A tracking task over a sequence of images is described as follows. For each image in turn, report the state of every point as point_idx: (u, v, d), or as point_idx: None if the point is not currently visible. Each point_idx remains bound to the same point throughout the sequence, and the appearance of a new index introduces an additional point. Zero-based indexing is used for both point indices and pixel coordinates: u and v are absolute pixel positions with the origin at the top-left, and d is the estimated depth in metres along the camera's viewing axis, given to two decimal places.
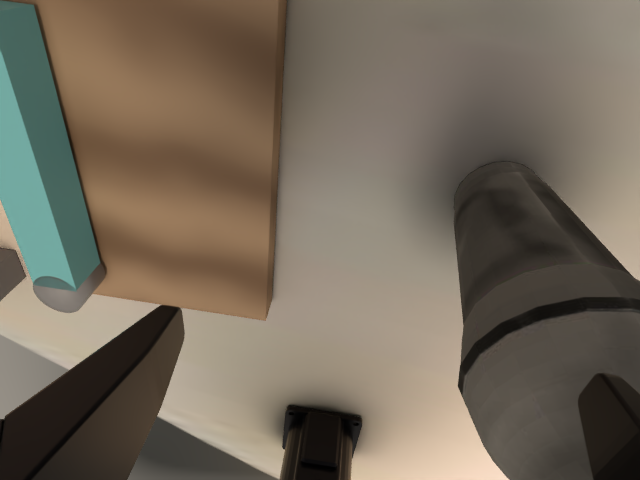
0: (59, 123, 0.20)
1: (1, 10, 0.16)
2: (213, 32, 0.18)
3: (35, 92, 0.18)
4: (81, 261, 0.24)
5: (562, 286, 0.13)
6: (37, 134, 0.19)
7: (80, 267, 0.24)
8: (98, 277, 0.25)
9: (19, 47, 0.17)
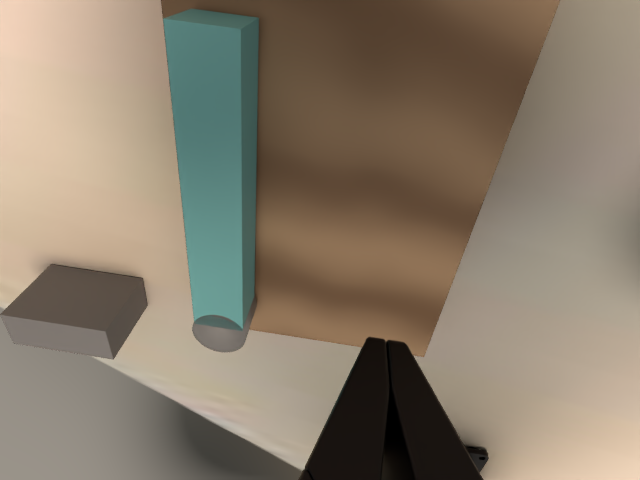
0: (254, 149, 0.18)
1: (245, 25, 0.14)
2: (463, 49, 0.15)
3: (249, 117, 0.16)
4: (247, 297, 0.21)
5: None
6: (245, 164, 0.17)
7: (246, 305, 0.21)
8: (253, 312, 0.23)
9: (248, 67, 0.15)
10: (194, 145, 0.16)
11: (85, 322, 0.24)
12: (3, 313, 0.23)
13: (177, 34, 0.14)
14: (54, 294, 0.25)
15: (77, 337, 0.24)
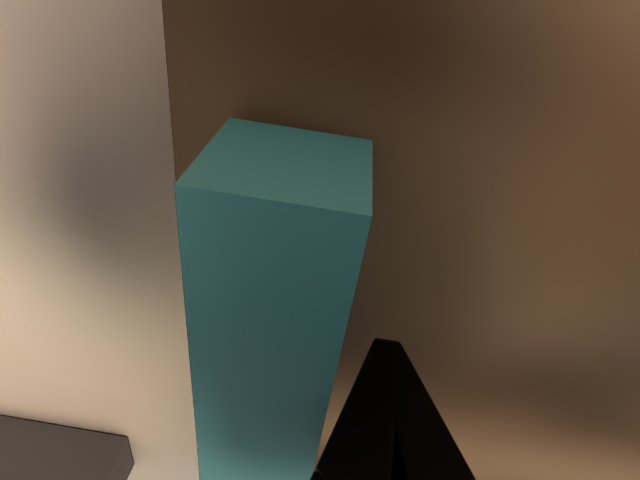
0: None
1: (370, 190, 0.06)
2: None
3: None
4: None
5: None
6: None
7: None
8: None
9: None
10: (230, 393, 0.08)
11: None
12: None
13: (208, 217, 0.05)
14: None
15: None
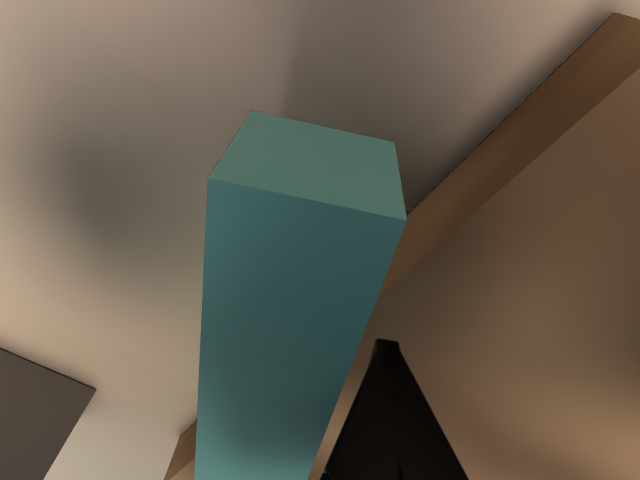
0: None
1: (400, 193, 0.06)
2: None
3: None
4: None
5: None
6: None
7: None
8: None
9: None
10: (239, 390, 0.08)
11: None
12: None
13: (239, 212, 0.05)
14: None
15: None
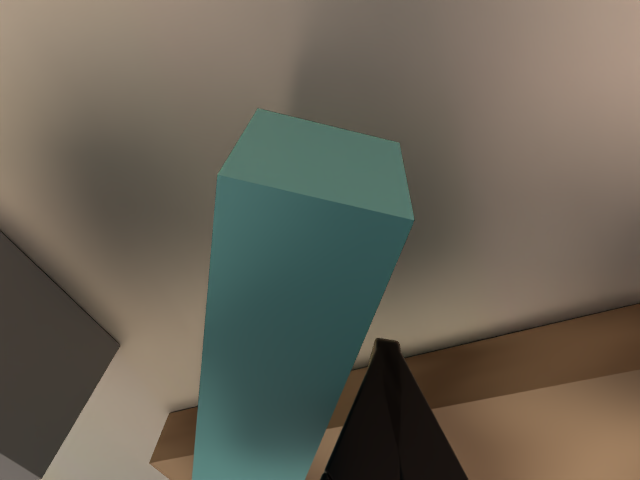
0: None
1: (407, 193, 0.06)
2: None
3: None
4: None
5: None
6: None
7: None
8: None
9: None
10: (240, 387, 0.08)
11: (11, 436, 0.11)
12: None
13: (247, 210, 0.05)
14: None
15: None
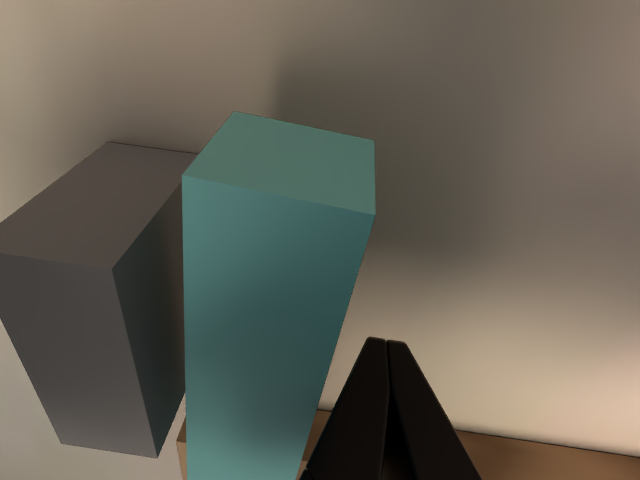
0: None
1: (372, 189, 0.06)
2: None
3: None
4: None
5: None
6: None
7: None
8: None
9: None
10: (224, 384, 0.08)
11: (157, 410, 0.10)
12: (115, 269, 0.07)
13: (213, 209, 0.06)
14: (172, 272, 0.09)
15: (106, 410, 0.09)
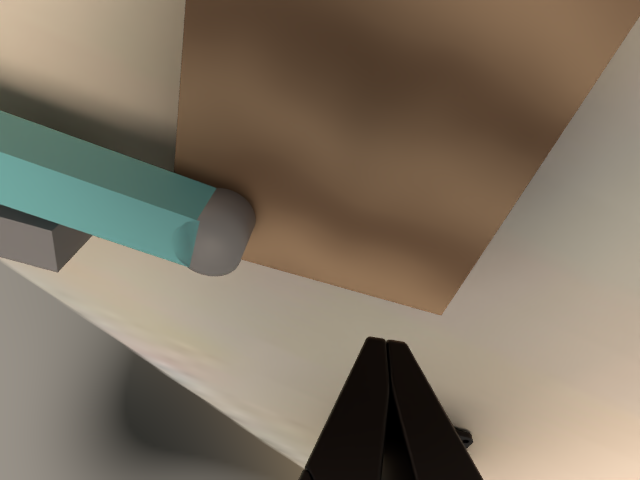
0: None
1: None
2: None
3: None
4: (173, 195, 0.17)
5: None
6: None
7: (178, 200, 0.16)
8: (226, 198, 0.17)
9: None
10: None
11: (25, 216, 0.18)
12: None
13: None
14: None
15: (11, 235, 0.18)
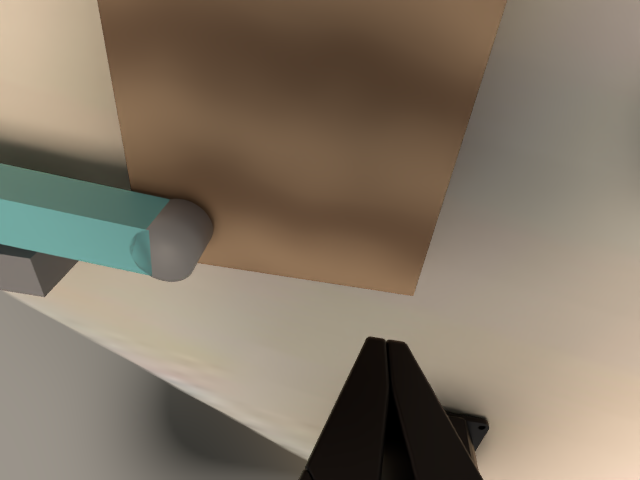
0: None
1: None
2: None
3: None
4: (126, 210, 0.18)
5: None
6: None
7: (130, 214, 0.18)
8: (177, 207, 0.19)
9: None
10: None
11: (8, 249, 0.20)
12: None
13: None
14: None
15: None
